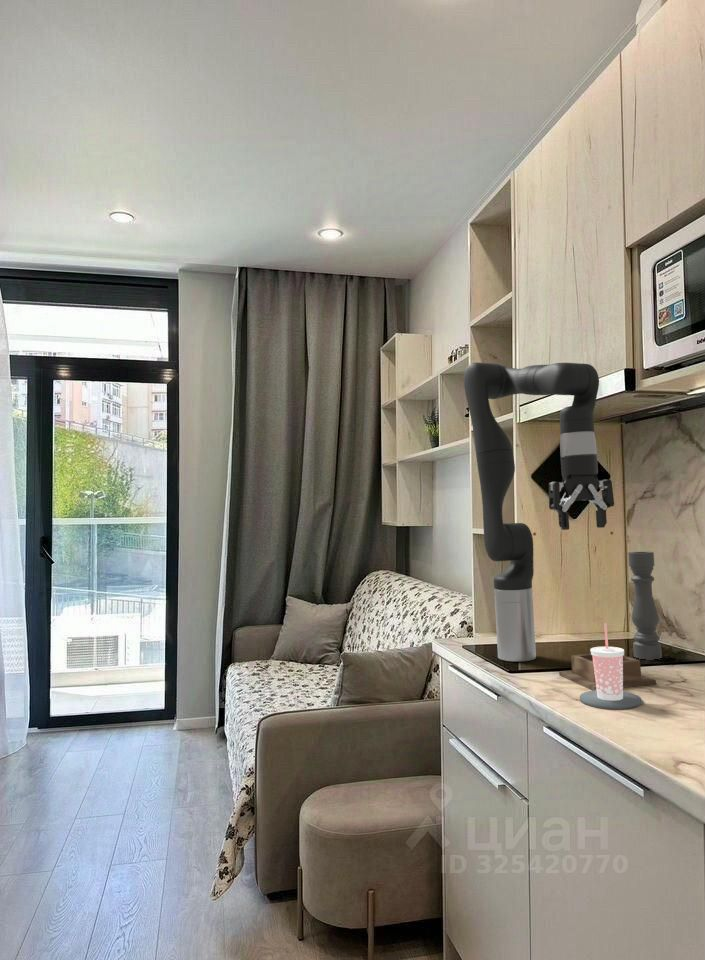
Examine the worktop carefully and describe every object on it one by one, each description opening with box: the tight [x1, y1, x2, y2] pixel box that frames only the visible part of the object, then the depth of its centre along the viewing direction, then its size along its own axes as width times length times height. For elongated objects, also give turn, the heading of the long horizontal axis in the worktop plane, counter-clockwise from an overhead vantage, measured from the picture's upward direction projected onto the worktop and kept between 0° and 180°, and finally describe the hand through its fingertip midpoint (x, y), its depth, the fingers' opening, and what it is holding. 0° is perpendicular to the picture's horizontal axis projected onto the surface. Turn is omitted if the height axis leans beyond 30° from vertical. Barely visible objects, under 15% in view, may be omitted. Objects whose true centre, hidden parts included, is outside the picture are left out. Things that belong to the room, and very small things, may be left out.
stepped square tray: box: [558, 653, 657, 691], centre depth 145 cm, size 14×14×4 cm
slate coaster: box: [579, 690, 643, 710], centre depth 130 cm, size 11×11×1 cm
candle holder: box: [628, 551, 663, 661], centre depth 163 cm, size 6×6×25 cm
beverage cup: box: [589, 622, 625, 701], centre depth 130 cm, size 6×6×14 cm
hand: (583, 528), depth 148 cm, fingers open, 8 cm apart
